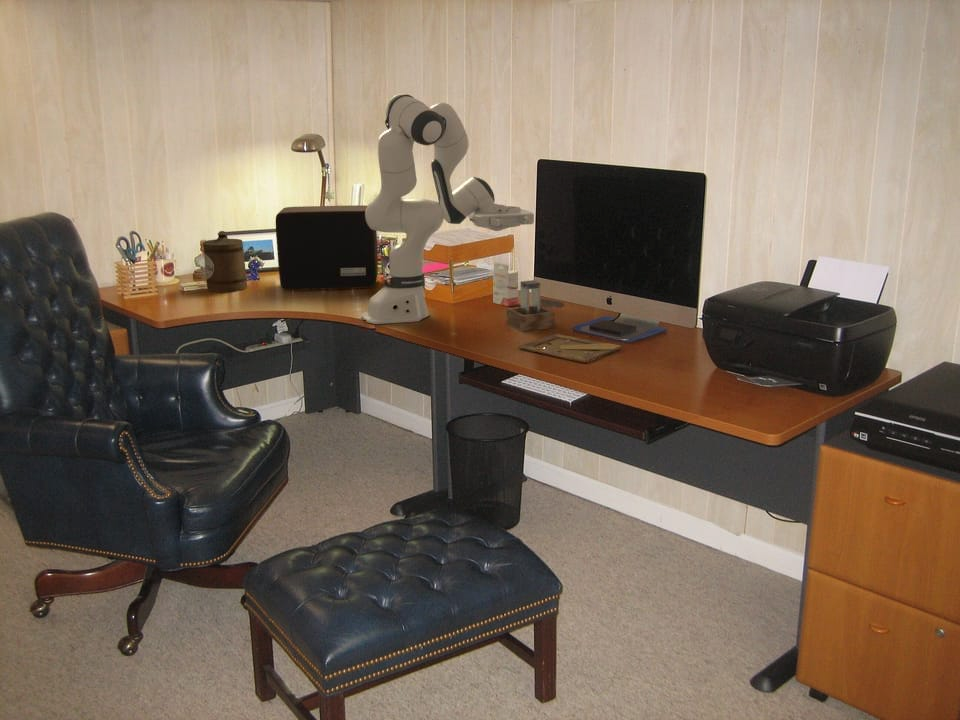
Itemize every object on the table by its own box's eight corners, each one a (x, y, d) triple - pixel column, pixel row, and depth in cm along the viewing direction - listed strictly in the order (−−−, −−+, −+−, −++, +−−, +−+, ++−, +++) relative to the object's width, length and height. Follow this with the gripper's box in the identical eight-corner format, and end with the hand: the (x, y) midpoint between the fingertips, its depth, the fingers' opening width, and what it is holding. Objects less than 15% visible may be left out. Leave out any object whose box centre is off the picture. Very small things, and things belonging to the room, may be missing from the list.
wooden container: (209, 285, 369) (203, 229, 362) (248, 283, 371) (243, 227, 365) (205, 293, 355) (199, 235, 348) (246, 291, 357) (241, 233, 351)
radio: (378, 280, 374) (375, 204, 366) (376, 290, 357) (373, 210, 349) (286, 282, 372) (281, 206, 363) (280, 292, 355) (274, 212, 346)
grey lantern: (526, 324, 300) (526, 284, 296) (520, 321, 304) (520, 281, 300) (540, 322, 302) (540, 282, 298) (533, 319, 306) (533, 280, 302)
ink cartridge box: (519, 304, 331) (519, 263, 327) (508, 307, 328) (508, 265, 324) (503, 300, 338) (503, 260, 333) (492, 302, 335) (492, 261, 330)
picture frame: (621, 351, 276) (555, 338, 291) (621, 345, 275) (555, 332, 290) (585, 366, 262) (518, 351, 277) (585, 360, 262) (518, 345, 277)
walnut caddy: (522, 331, 296) (522, 316, 295) (506, 323, 306) (506, 308, 305) (554, 327, 300) (554, 312, 299) (538, 319, 310) (538, 304, 309)
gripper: (467, 209, 312) (484, 213, 300) (522, 206, 320) (541, 210, 308) (467, 228, 314) (484, 233, 302) (522, 225, 322) (541, 229, 310)
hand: (513, 221), depth 305 cm, fingers open, 8 cm apart
